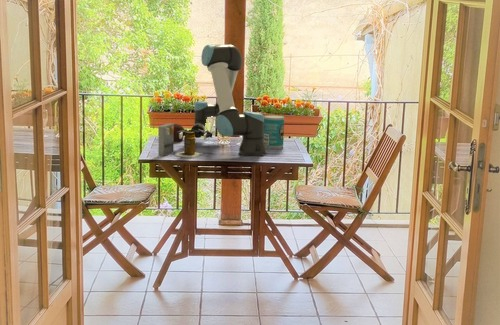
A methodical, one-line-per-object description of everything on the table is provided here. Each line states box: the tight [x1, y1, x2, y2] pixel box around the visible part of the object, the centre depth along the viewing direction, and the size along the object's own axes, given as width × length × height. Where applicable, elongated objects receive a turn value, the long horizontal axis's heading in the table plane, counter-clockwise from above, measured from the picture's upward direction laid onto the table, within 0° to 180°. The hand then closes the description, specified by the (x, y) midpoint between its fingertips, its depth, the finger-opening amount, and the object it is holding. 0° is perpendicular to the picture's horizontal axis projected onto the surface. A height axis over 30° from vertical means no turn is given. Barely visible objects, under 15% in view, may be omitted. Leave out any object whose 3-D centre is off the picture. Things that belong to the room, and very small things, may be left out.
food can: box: [263, 114, 285, 150], centre depth 420 cm, size 12×12×18 cm
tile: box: [175, 151, 203, 159], centre depth 392 cm, size 11×11×1 cm
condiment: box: [178, 132, 199, 156], centre depth 391 cm, size 7×8×12 cm
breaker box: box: [158, 122, 175, 157], centre depth 391 cm, size 4×12×16 cm, turn 160°
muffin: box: [173, 123, 186, 143], centre depth 433 cm, size 12×11×10 cm
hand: (192, 136), depth 398 cm, fingers open, 13 cm apart
